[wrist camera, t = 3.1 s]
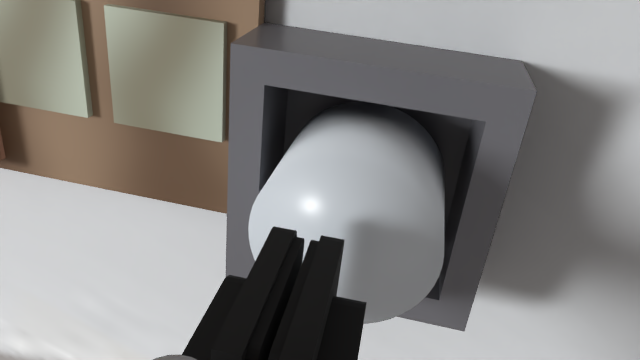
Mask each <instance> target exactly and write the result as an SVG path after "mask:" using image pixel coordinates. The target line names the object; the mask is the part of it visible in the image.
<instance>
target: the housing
mask: <svg viewBox="0 0 640 360" xmlns="http://www.w3.org/2000/svg"><path fill="white" fill-rule="evenodd" d="M536 93H537V90H536V88H535V86H534V84H533V82H532V80H531V78H530V76H529V74H528V72H527V70H526V68H525V66H524V64H523V62H522V61H518V60H512V59H505V58H498V57H491V56H485V55H478V54H471V53H465V52H458V51H451V50H444V49H438V48H431V47H424V46H418V45H411V44H404V43H397V42H391V41H384V40H377V39H371V38H364V37H357V36H350V35H344V34H337V33H330V32H324V31H317V30H310V29H303V28H297V27H290V26H283V25H277V24H270V23H263V24H261V25H259V26H258V27H256V28H254V29H253V30H251V31H250V32H248V33H246V34H245V35H243V36H242V37H240V38H238V39H237V40H235V41H233V42H232V43H231V49H230V97H229V146H228V194H227V242H226V277H227V276H228V275H233V276H238V277H243V278H247V277H248V275H249V273H250V271H251V269H252V267H253V265H254V263H255V260H254V257H253V254H252V251H251V248H250V242H249V231H248V226H249V218H250V213H251V210H252V206H253V204H254V202H255V200H256V198H257V196H258V194H259V193H260V191H261V190H262V188H263V187H264V185H265V184H266V182H267V181H268V179H269V178H270V176H271V175H272V173H273V172H274V170H275V169H276V167H277V165H278V164H279V162H280V161H281V159H282V158H283V156H284V155H285V153H286V152H287V150H288V149H289V147H290V146H291V144H292V143H293V141H294V140H295V138H296V137H297V135H298V134H299V132H300V131H301V129H302V128H303V127H304V126H305V125H306V124H307V123H308V122H309V121H310V120H311V119H312V118H314V117H315V116H316V115H318V114H319V113H321V112H323V111H324V110H326V109H329V108H331V107H333V106H337V105H340V104H344V103H350V102H370V103H377V104H383V105H387V106H390V107H393V108H396V109H398V110H400V111H402V112H404V113H406V114H407V115H409V116H410V117H412V118H413V119H415V120H416V121H417V122H418V123H419V124H420V125H422V126H423V127H424V128H425V129H426V131H427V132H428V133H429V134H430V135H431V137H432V138H433V140H434V141H435V143H436V145H437V147H438V149H439V151H440V153H441V157H442V160H443V164H444V171H445V216H444V260H443V266H442V269H441V272H440V275H439V278H438V279H437V281H436V283H435V285H434V287H433V288H432V289H431V291H430V292H429V293H428V295H427V296H426V297H425V298H424V299H423V300H422V301H421V302H420V303H418V304H417V305H416V306H414V307H413V308H412V309H410V310H408V311H407V312H405V313H403V314H401V315H399V316H397V317H401V318H406V319H410V320H415V321H420V322H424V323H429V324H433V325H438V326H442V327H447V328H451V329H456V330H460V331H465V327H466V324H467V321H468V317H469V314H470V311H471V308H472V304H473V301H474V298H475V294H476V291H477V288H478V284H479V281H480V278H481V274H482V271H483V268H484V265H485V261H486V258H487V255H488V251H489V248H490V245H491V241H492V238H493V235H494V232H495V228H496V225H497V222H498V218H499V215H500V212H501V208H502V205H503V202H504V199H505V195H506V192H507V189H508V185H509V182H510V179H511V175H512V172H513V169H514V166H515V162H516V159H517V156H518V152H519V149H520V146H521V142H522V139H523V136H524V133H525V129H526V126H527V123H528V119H529V116H530V113H531V109H532V106H533V103H534V100H535V96H536Z"/></svg>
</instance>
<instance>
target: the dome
mask: <svg viewBox="0 0 640 360" xmlns="http://www.w3.org/2000/svg"><path fill="white" fill-rule="evenodd" d="M444 216H445V171H444V164H443V160H442V157H441V153H440V151H439V149H438V147H437V145H436V143H435V141H434V140H433V138H432V137H431V135H430V134H429V133H428V132H427V131H426V129H425V128H424V127H423V126H422V125H420V124H419V123H418V122H417V121H416V120H415V119H413V118H412V117H410V116H409V115H407V114H406V113H404V112H402V111H400V110H398V109H396V108H393V107H390V106H387V105H383V104H377V103H370V102H350V103H344V104H340V105H337V106H333V107H331V108H329V109H326V110H324V111H323V112H321V113H319V114H318V115H316V116H315V117H314V118H312V119H311V120H310V121H309V122H308V123H307V124H306V125H305V126H304V127H303V128H302V129H301V131H300V132H299V134H298V135H297V137H296V138H295V140H294V141H293V143H292V144H291V146H290V147H289V149H288V150H287V152H286V153H285V155H284V156H283V158H282V159H281V161H280V162H279V164H278V165H277V167H276V169H275V170H274V172H273V173H272V175H271V176H270V178H269V179H268V181H267V182H266V184H265V185H264V187H263V188H262V190H261V191H260V193H259V194H258V196H257V198H256V200H255V202H254V204H253V206H252V210H251V213H250V218H249V226H248V231H249V242H250V248H251V251H252V254H253V257H254V260H255V261H256V259H257V257H258V255H259V253H260V251H261V249H262V247H263V245H264V243H265V241H266V239H267V237H268V235H269V233H270V231H271V229H272V228H273V227H274V226H275V227H280V228H285V229H291V230H296V231H297V237H300V238H304V252H303V260H304V257H305V254H306V252H307V249H308V246H309V243H310V241H311V240H315V241H319V240H320V237H321V235H323V236H328V237H333V238H339V239H344V248H343V255H342V262H341V269H340V276H339V282H338V289H337V297H342V298H347V299H352V300H357V301H362V302H367V303H366V310H365V316H364V322H363V324H366V323H374V322H380V321H384V320H388V319H391V318H394V317H396V316H399V315H401V314H403V313H405V312H407V311H408V310H410V309H412V308H413V307H414V306H416V305H417V304H418V303H420V302H421V301H422V300H423V299H424V298H425V297H426V296H427V295H428V293H429V292H430V291H431V289H432V288H433V287H434V285H435V283H436V281H437V279H438V278H439V275H440V272H441V269H442V266H443V260H444ZM302 263H303V261H302Z"/></svg>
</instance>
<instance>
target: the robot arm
mask: <svg viewBox="0 0 640 360" xmlns="http://www.w3.org/2000/svg"><path fill="white" fill-rule="evenodd" d="M343 248H344V239H339V238H333V237H328V236H323V235H321V237H320V240H319V241H315V240H311V241H310V243H309V246H308V249H307V252H306V254H305V257H304V260H303V252H304V238H300V237H297V231H296V230H291V229H285V228H280V227H275V226H274V227H273V228H272V229H271V231H270V233H269V235H268V237H267V239H266V241H265V243H264V245H263V247H262V249H261V251H260V253H259V255H258V257H257V259H256V261H255V263H254V265H253V267H252V269H251V271H250V273H249V275H248V277H247V278H243V277H238V276H233V275H228V276H227V277H226V278H225V279H224V281H223V283H222V284H221V286H220V288H219V290H218V292H217V293H216V295H215V297H214V299H213V300H212V302H211V304H210V306H209V308H208V309H207V311H206V313H205V315H204V316H203V318H202V320H201V322H200V323H199V325H198V327H197V329H196V331H195V332H194V334H193V336H192V338H191V339H190V341H189V343H188V345H187V347H186V348H185V350H184V352H183V354H182V355H166V356H163V357H159V358H155V359H153V360H357V359H358V353H359V347H360V341H361V334H362V328H363V322H364V316H365V310H366V303H367V302H362V301H357V300H352V299H347V298H342V297H337V289H338V282H339V276H340V269H341V262H342V255H343ZM302 261H303V263H302Z"/></svg>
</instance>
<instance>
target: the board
mask: <svg viewBox="0 0 640 360" xmlns="http://www.w3.org/2000/svg"><path fill="white" fill-rule="evenodd" d="M264 12H265V0H0V168H4V169H9V170H14V171H19V172H24V173H29V174H34V175H39V176H44V177H49V178H54V179H59V180H64V181H68V182H73V183H78V184H83V185H88V186H93V187H98V188H103V189H108V190H113V191H118V192H123V193H128V194H133V195H138V196H143V197H147V198H152V199H157V200H162V201H167V202H172V203H177V204H182V205H187V206H192V207H197V208H202V209H207V210H212V211H217V212H222V213H227V194H228V146H229V97H230V49H231V43H232V42H233V41H235V40H237V39H238V38H240V37H242V36H243V35H245V34H246V33H248V32H250V31H251V30H253V29H254V28H256V27H258V26H259V25H261V24H263V23H264Z"/></svg>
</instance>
